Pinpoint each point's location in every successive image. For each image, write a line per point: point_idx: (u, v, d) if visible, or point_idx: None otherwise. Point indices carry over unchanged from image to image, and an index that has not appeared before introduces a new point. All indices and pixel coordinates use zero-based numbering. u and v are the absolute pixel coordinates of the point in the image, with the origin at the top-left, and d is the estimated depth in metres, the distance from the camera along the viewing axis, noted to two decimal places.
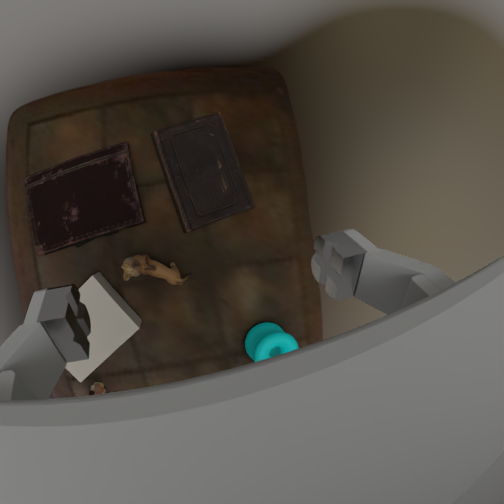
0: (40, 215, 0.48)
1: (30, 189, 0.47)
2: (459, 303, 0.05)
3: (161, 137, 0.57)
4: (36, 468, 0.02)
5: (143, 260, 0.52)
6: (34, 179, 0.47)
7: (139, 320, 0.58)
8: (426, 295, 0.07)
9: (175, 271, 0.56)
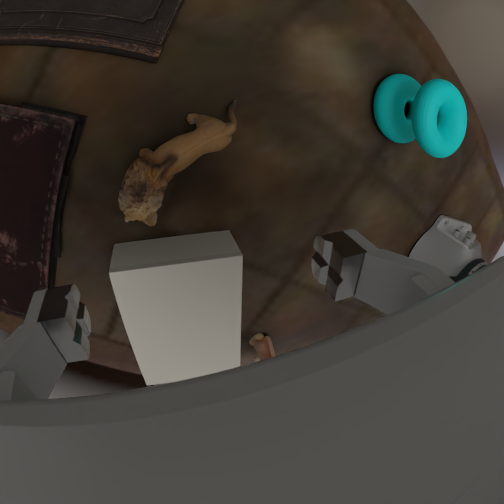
0: None
1: None
2: (459, 303, 0.05)
3: None
4: (36, 468, 0.02)
5: (143, 169, 0.22)
6: None
7: (228, 237, 0.34)
8: (426, 295, 0.07)
9: (208, 123, 0.23)
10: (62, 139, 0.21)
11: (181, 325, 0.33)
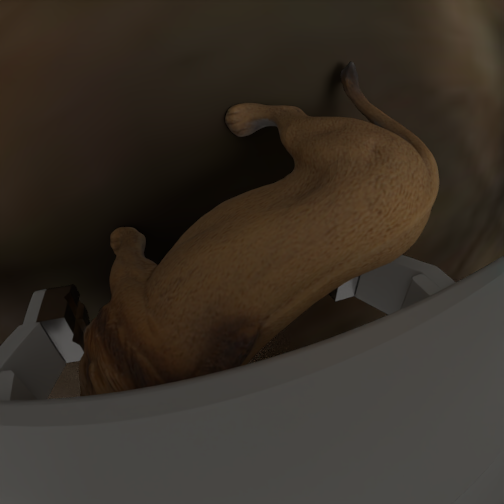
0: None
1: None
2: (459, 303, 0.05)
3: None
4: (36, 468, 0.02)
5: None
6: None
7: None
8: (426, 295, 0.07)
9: (372, 150, 0.05)
10: None
11: None
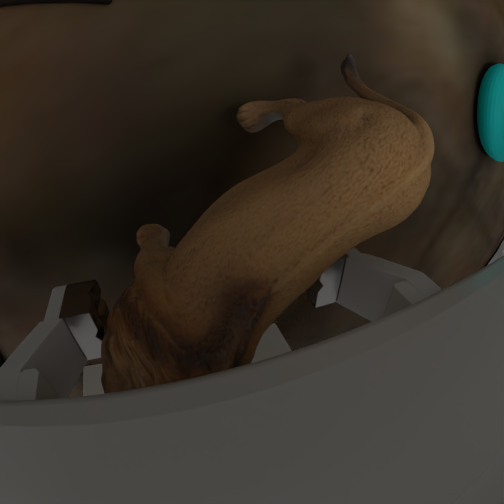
0: None
1: None
2: (459, 303, 0.05)
3: None
4: (36, 468, 0.02)
5: (147, 382, 0.05)
6: None
7: (278, 344, 0.19)
8: (408, 303, 0.07)
9: (360, 118, 0.05)
10: None
11: None
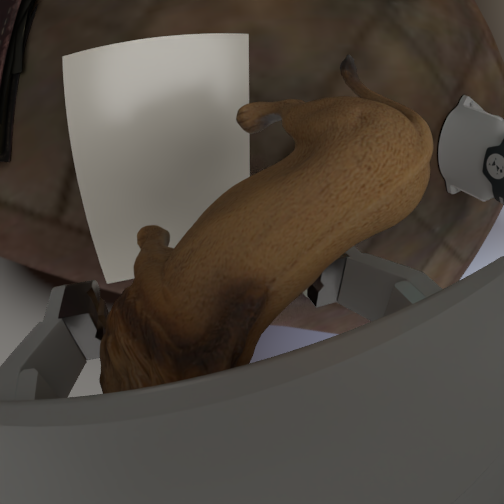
0: None
1: None
2: (459, 303, 0.05)
3: None
4: (36, 468, 0.02)
5: (145, 381, 0.05)
6: None
7: None
8: (409, 303, 0.07)
9: (357, 117, 0.05)
10: None
11: (157, 147, 0.20)
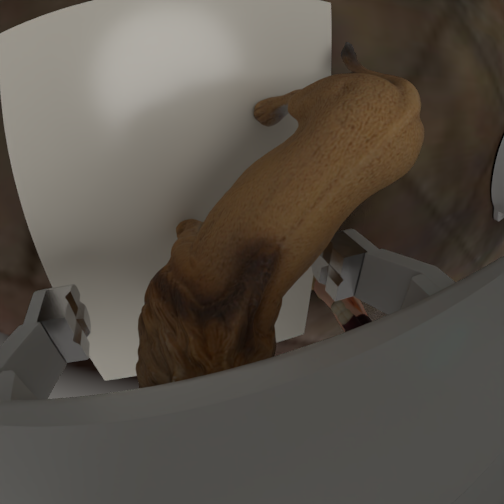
0: None
1: None
2: (459, 303, 0.05)
3: None
4: (36, 468, 0.02)
5: (171, 337, 0.06)
6: None
7: None
8: (426, 295, 0.07)
9: (341, 88, 0.06)
10: None
11: (171, 193, 0.12)
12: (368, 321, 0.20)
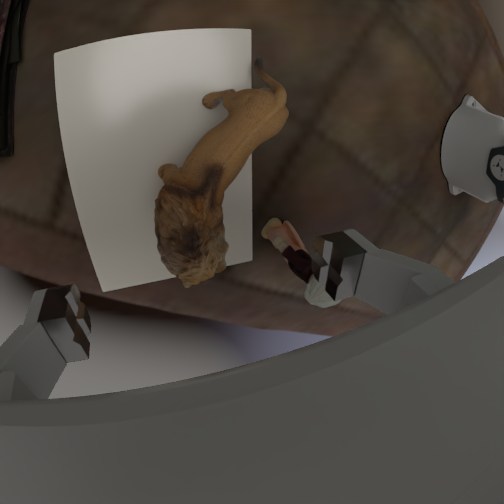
0: None
1: None
2: (459, 303, 0.05)
3: None
4: (36, 468, 0.02)
5: (180, 206, 0.15)
6: None
7: None
8: (426, 295, 0.07)
9: (247, 99, 0.14)
10: None
11: (154, 148, 0.19)
12: (304, 253, 0.28)
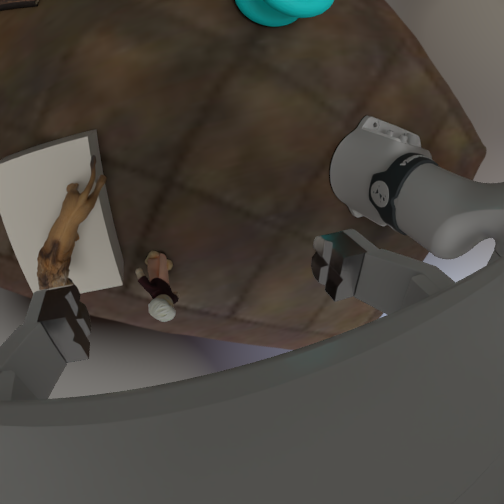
0: None
1: None
2: (459, 303, 0.05)
3: None
4: (36, 468, 0.02)
5: (41, 263, 0.24)
6: None
7: (89, 132, 0.29)
8: (426, 295, 0.07)
9: (65, 202, 0.23)
10: None
11: (48, 221, 0.29)
12: (157, 281, 0.37)
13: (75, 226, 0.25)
